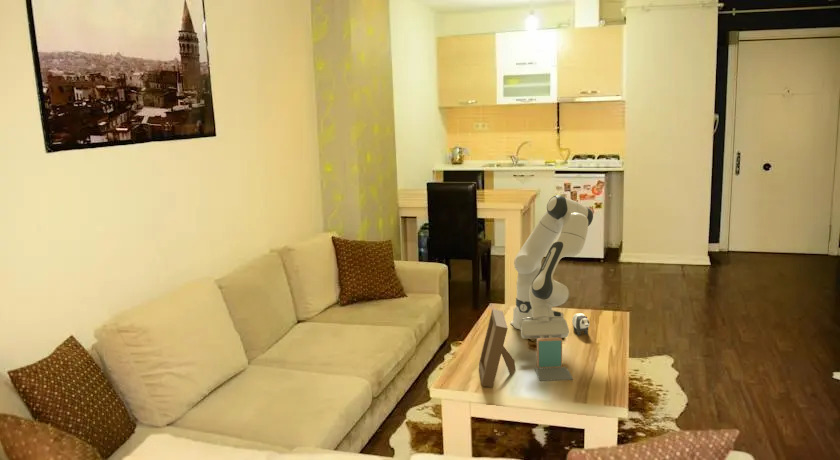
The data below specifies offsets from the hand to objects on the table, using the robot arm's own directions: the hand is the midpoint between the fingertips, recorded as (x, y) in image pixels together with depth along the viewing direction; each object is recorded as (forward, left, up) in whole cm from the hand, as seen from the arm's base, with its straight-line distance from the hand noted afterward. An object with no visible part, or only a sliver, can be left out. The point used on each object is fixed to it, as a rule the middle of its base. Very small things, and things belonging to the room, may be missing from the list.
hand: (546, 346), depth 291 cm
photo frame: (+24, -11, -7) cm, 27 cm away
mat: (+12, +8, -6) cm, 16 cm away
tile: (+5, +3, -6) cm, 9 cm away
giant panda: (-40, +1, -7) cm, 40 cm away
